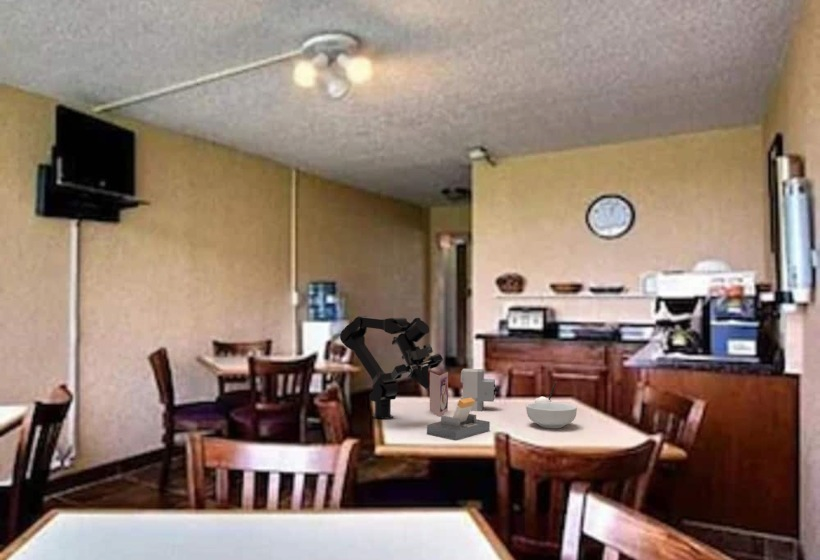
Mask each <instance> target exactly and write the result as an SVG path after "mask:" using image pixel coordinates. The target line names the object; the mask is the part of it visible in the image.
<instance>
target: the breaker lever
mask: <svg viewBox="0 0 820 560" xmlns="http://www.w3.org/2000/svg"><path fill="white" fill-rule="evenodd" d="M474 402H475V400H474V399H472V398H466V399H461V398H460V399H459V401H458V402H457V406H456V409H455V411H454V413H453V415H452V417H453V418H458V419H460V422H463V421H466V420H467V417H468V415H469V414H471V411H470V410H471V408H472V406H473V405H474Z"/></svg>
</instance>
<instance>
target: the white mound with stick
mask: <svg viewBox="0 0 820 560" xmlns="http://www.w3.org/2000/svg"><path fill="white" fill-rule="evenodd" d="M556 385H557V381H555V382H554V384H553V386H552V389H551V392H550V395H549V396H548V397H545V396H539V397H537V398H535V399H534V403H538V402H552V400H551V399H552V395H553V393H554V390H555V388H556Z"/></svg>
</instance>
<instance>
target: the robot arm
mask: <svg viewBox="0 0 820 560" xmlns="http://www.w3.org/2000/svg"><path fill="white" fill-rule="evenodd" d="M369 328H370V329H376V330H381V331H382V330H383V332H385V333H386V334H389V335H397V334H398V336H393V340H392V341H391V345H392V346H393V345H397V347H398V348H399V351H400V353H401V355H402V356H401V359H402V360H404V362H405V363H406V364H404V363H403V364H399V365H395V367H394V368H393V369H392V371H391V372H388V373H386V372H384V370H383V369H382V368H381V365H379V363H378V362H377V360H376V358H375V357H374V356H373V354H372V352H370V350H369V348H368V347H367V345H366V341H365V339H366V338H365V335H366V334H367V330H368V329H369ZM429 333H430V326H428V324H427V323H426V322H425V321H423V320H421V318H420V317H415V318H414V319H413V320H412V321H411V322H410V321H408V320H407V318H406V317H403V316H402V317H390V318H380V317H373V316H372V317H371V316H367V315H363V316H361V315H359V316H356V317H355V318H354V320H353V321H351V322H350V323H348V324H347V325H346V326H345V327H344V328H343V329H342V330H341V331H340V335H339V341H340V342H341V343H342V344H343V345H344V346H345V348H348V349H349V350H351V351H352V352H353V353H354V354H355V356H356V357H357V358H358V360H359V361H360V363H361V365H362V366H363V368H364V369H365V371H366V372H367V374H368V375H369V376H370V378H371V379H372V380H371V381H372V389H373V390H372V391H371V392H370V393H369V395H368V396H369V401H371V402H374V413H372V414H371V415H372V417H374V419H379V420H380V419H381V420H382V419H394V416H393V415H392V414H391V413H392V412H391V406H392V405H391V403H392V400H396V398H397V394H398V391H399V383H398V380H399V379H401V378H402V377H403V376H402V375H403V374H406V373H407V374H408V375H407V377H408V379H410V378H411V379H412V380H413V381H415V382H416V383H418V384H419V385H420V386H422V387H423V388H424V389H426V390H428V389H430V382H429V369H430V370H431V369H435V368H437V367H439V366H440V365H441V364H442V362H443V361H444V360H445V359H444V357H443V356H442V354H440V353H436V354H433V355H430V354H432V353H433V352H434V350H433V347H432V345H431V343H428V344H425V345H423V348H421V347H420V346H417V344H416V343H418V342H420V341H421V340H422V339H423V338H424V337H425V336H426V335H428V334H429ZM427 358H428V359H427Z"/></svg>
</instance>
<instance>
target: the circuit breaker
mask: <svg viewBox="0 0 820 560" xmlns="http://www.w3.org/2000/svg"><path fill="white" fill-rule="evenodd" d="M484 371H485V370H484V368H462V370H461V372H460V383H461V384H462V395H461V397H460V400H461V399H466V398H472V399H474V400H475V402H474V405H473V406H472V408H471V410H470V412H471V411H473V412H482V411H483V409H484V404H485V403H484V402H486V403H487V402H488V403H489V402H492V403H493V402H495V401H494V400H495V399H496V393H498V392H499V391H500V388H499V387H496V379H495V378H485V375H484V373H485V372H484Z"/></svg>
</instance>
